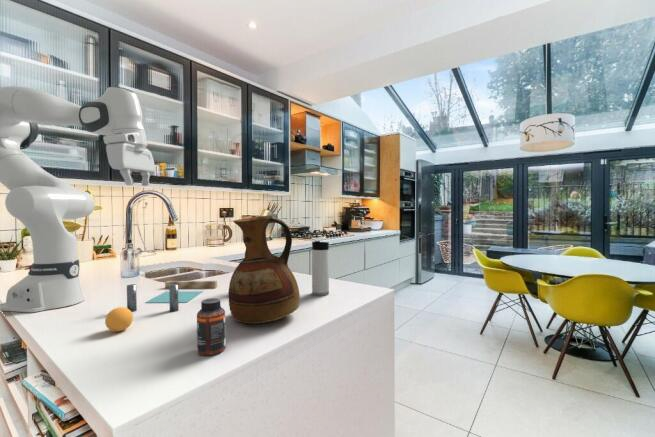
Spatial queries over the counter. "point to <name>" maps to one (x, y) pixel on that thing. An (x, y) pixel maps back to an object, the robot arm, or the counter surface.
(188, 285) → the stopper wall
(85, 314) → the counter surface
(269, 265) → the ceramic pitcher
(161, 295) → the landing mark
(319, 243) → the travel mug
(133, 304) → the left post
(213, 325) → the supplement bottle
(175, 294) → the right post
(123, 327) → the ball
